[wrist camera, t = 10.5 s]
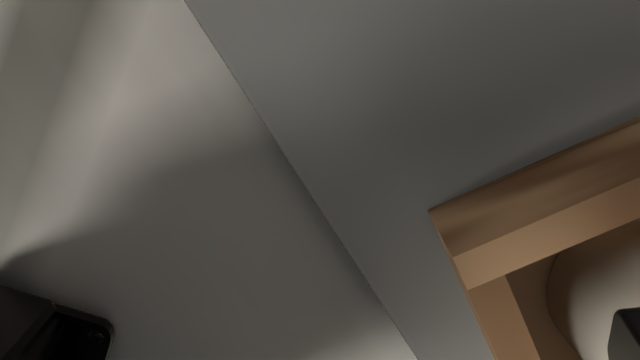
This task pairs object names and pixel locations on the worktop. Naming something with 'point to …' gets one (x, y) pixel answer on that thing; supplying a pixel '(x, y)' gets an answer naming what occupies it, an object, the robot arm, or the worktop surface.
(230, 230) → the worktop surface
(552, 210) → the wooden tray
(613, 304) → the white lens
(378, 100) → the rubber mat
